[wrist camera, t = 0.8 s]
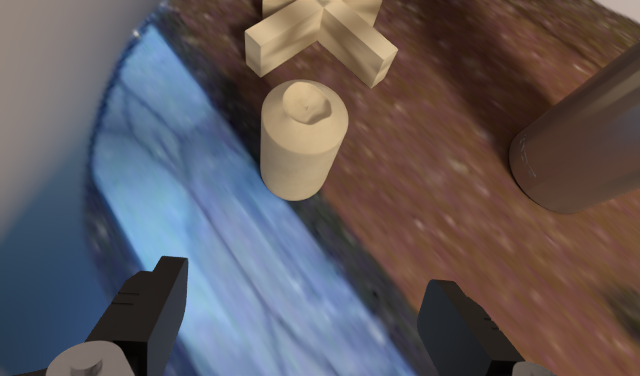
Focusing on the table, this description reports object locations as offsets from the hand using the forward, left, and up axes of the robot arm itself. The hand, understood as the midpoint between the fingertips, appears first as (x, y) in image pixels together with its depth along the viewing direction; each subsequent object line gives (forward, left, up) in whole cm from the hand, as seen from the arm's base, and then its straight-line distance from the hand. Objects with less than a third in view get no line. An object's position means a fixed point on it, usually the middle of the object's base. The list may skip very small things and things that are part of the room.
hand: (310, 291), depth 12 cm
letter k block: (-3, -26, -16) cm, 30 cm away
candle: (-1, -12, -16) cm, 19 cm away
